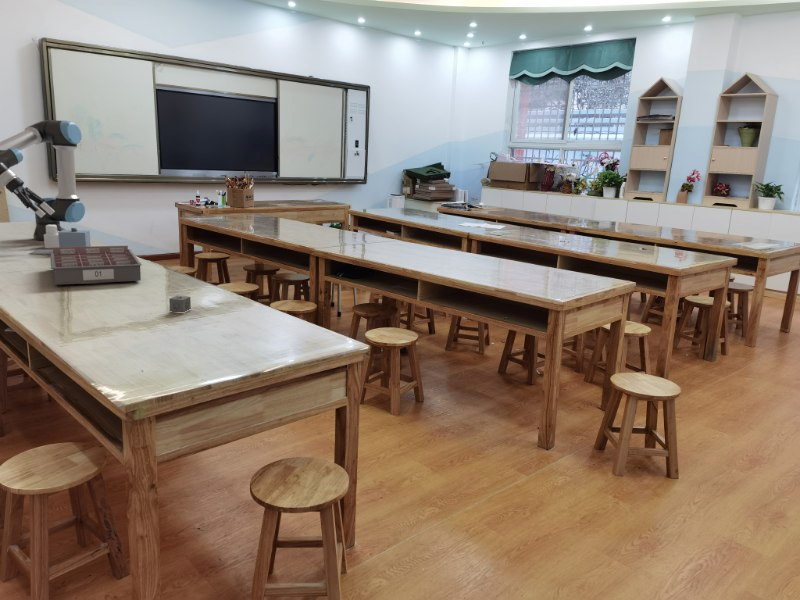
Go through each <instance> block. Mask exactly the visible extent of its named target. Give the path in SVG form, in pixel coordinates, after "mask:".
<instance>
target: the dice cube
mask: <svg viewBox="0 0 800 600" xmlns="http://www.w3.org/2000/svg"><path fill="white" fill-rule="evenodd" d="M191 302H192V301H191V296H185V295H174V296H173V297H169V312H170V311H172V312H185V311H187V310H189V309H192V307H191V305H192V304H191Z"/></svg>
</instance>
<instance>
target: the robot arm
mask: <svg viewBox="0 0 800 600" xmlns="http://www.w3.org/2000/svg"><path fill="white" fill-rule="evenodd" d="M82 137H83V136H82V131H81V129H80V127H79V126H78V125H77V123H75V122H73V121H69V120H57V119H56V120H54V119H53V120H51V119H46V120H41V121H39V122H36V123H33V124H31V125H29V126H27V127H25V128H24V130H23V131H21V132H19V133H17V134H15V135H12V136H9V137H8V138H6V139H4V140H1V141H0V185H2V186H3V187H5V189H6V190H7V191H9V192H10V193H11V194H14V195H16V197H17V198H18V200H19V201H21V203H22V204H23V205H24V207H25V208H26V209H30V210H31V211H33V213H34V215H35V218H34V219H35V229H34V232H33V235H32V236H33V240H35V241H43V242H44V234H46V227H45V226H46V225H48V224H56V225H58V226H59V232H60V231H62V230H63V229H62V226H61V222H63V223H70V224H71V223H78V222H81V221H82V219H83V218H84V217H85V214H86V208H85V205H84V203H83V202H81V198H80V197H79V196H78V195H77V184H76V183H77V182H76V180H77V179H76V166H75V165H76V163H75V150H76V149H77V148H78V144H79V143H80V142H81V140H82ZM42 143H52V147H53V148H54V149H55V154H56V155H55V156H56V172H57V173H56V175H57V188H58V189H57V193H58V194H56V196H54V197H41V196H40V195H39V194H37V193H36V192H34V191H33V190H31V189H30V188H29V187H27V186H26V187H24V185H25V181H23V180H22V179H21V178H20V177H18V176H17V174H16V173H14V171H12V170H11V169H10V168H12V167H14V166H16V165H19V164H20V163H21V162H23V160H24V155H23V152H22V150H25V149H27V148H29V147H31V146H33V145H39V144H42ZM32 201H33V202H34V203H33V202H32Z"/></svg>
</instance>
